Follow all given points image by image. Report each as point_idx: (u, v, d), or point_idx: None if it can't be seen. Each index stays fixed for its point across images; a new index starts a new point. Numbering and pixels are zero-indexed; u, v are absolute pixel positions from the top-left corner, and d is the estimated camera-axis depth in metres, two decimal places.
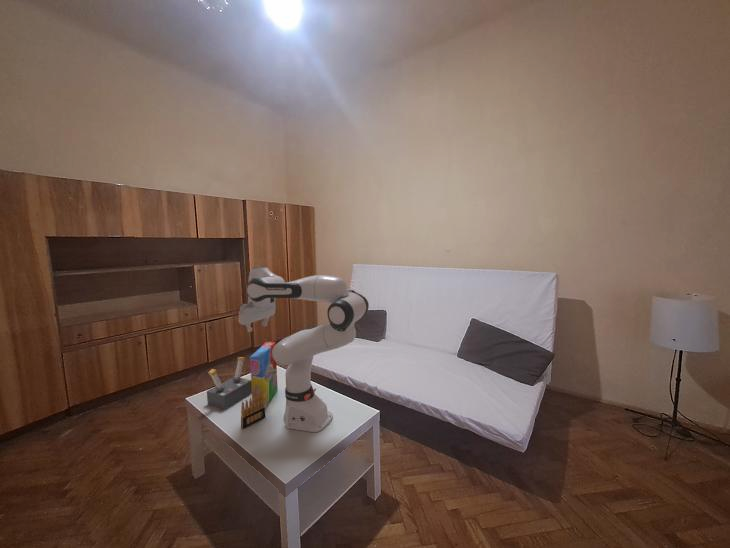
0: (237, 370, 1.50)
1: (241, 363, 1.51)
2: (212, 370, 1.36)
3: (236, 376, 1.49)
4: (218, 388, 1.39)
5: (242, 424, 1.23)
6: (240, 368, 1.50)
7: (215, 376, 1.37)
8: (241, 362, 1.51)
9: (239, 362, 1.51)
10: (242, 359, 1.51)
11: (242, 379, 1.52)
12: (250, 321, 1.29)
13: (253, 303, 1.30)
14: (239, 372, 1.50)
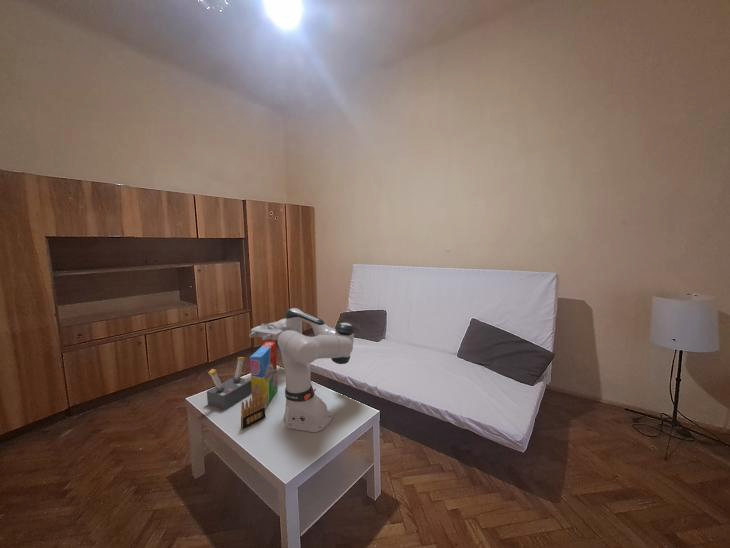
0: (237, 370, 1.50)
1: (241, 363, 1.51)
2: (212, 370, 1.36)
3: (236, 376, 1.49)
4: (218, 388, 1.39)
5: (242, 424, 1.23)
6: (240, 368, 1.50)
7: (215, 376, 1.37)
8: (241, 362, 1.51)
9: (239, 362, 1.51)
10: (242, 359, 1.51)
11: (242, 379, 1.52)
12: None
13: None
14: (239, 372, 1.50)
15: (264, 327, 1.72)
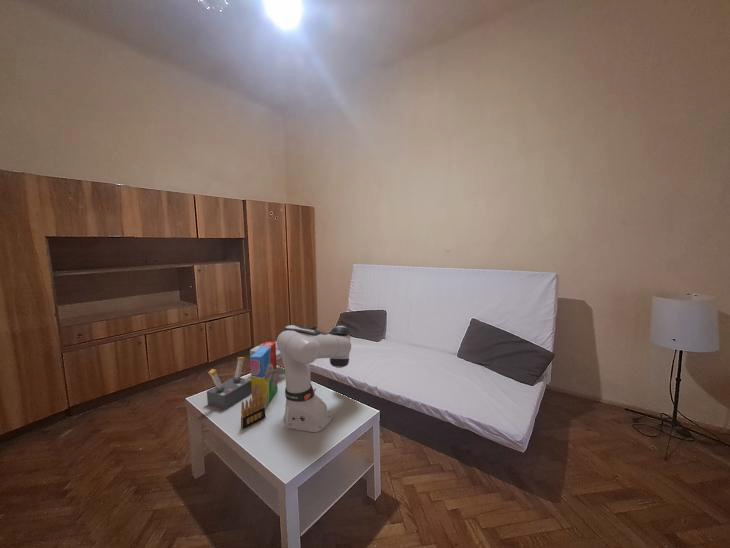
0: (237, 370, 1.50)
1: (241, 363, 1.51)
2: (212, 370, 1.36)
3: (236, 376, 1.49)
4: (218, 388, 1.39)
5: (242, 424, 1.23)
6: (240, 368, 1.50)
7: (215, 376, 1.37)
8: (241, 362, 1.51)
9: (239, 362, 1.51)
10: (242, 359, 1.51)
11: (242, 379, 1.52)
12: None
13: None
14: (239, 372, 1.50)
15: None
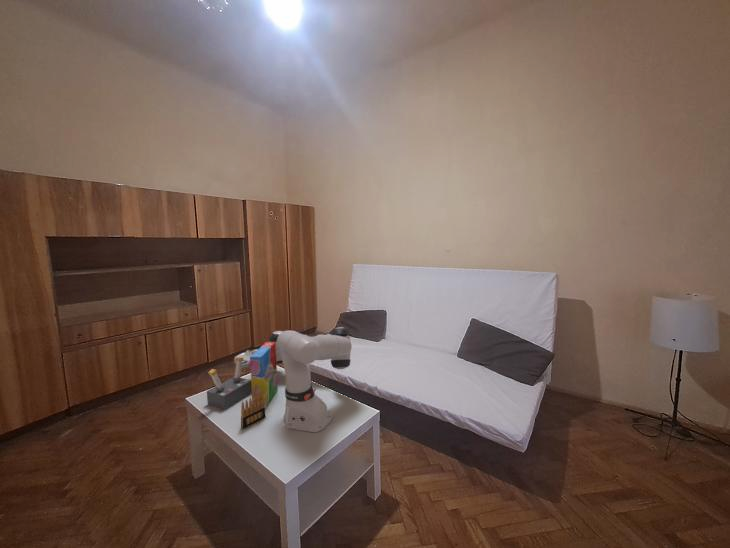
0: (236, 370, 1.49)
1: (240, 363, 1.50)
2: (212, 370, 1.36)
3: (236, 376, 1.49)
4: (218, 388, 1.39)
5: (242, 424, 1.23)
6: (239, 368, 1.50)
7: (215, 376, 1.37)
8: (240, 362, 1.50)
9: (238, 362, 1.50)
10: (241, 359, 1.50)
11: (242, 379, 1.52)
12: None
13: None
14: (239, 372, 1.50)
15: (249, 354, 1.63)
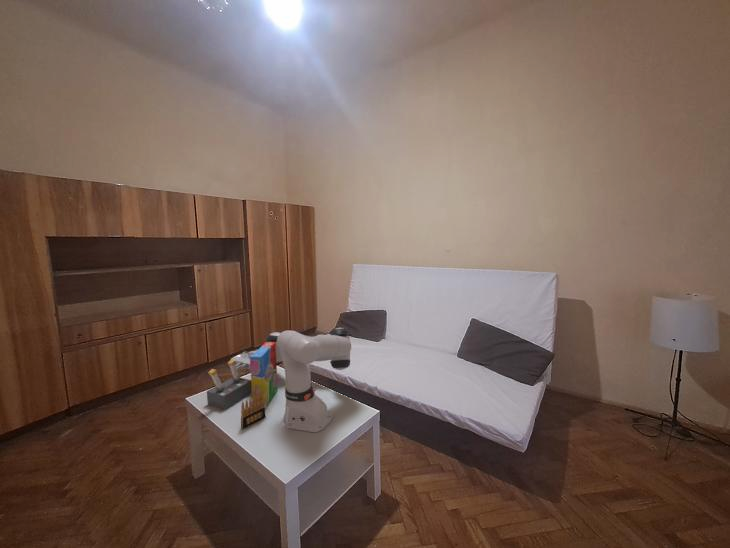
0: (233, 373, 1.47)
1: (234, 366, 1.47)
2: (212, 370, 1.36)
3: (235, 378, 1.48)
4: (218, 388, 1.39)
5: (242, 424, 1.23)
6: (235, 370, 1.47)
7: (215, 376, 1.37)
8: (233, 366, 1.46)
9: (231, 366, 1.46)
10: (233, 363, 1.46)
11: (242, 379, 1.52)
12: None
13: None
14: (236, 374, 1.48)
15: (245, 356, 1.60)
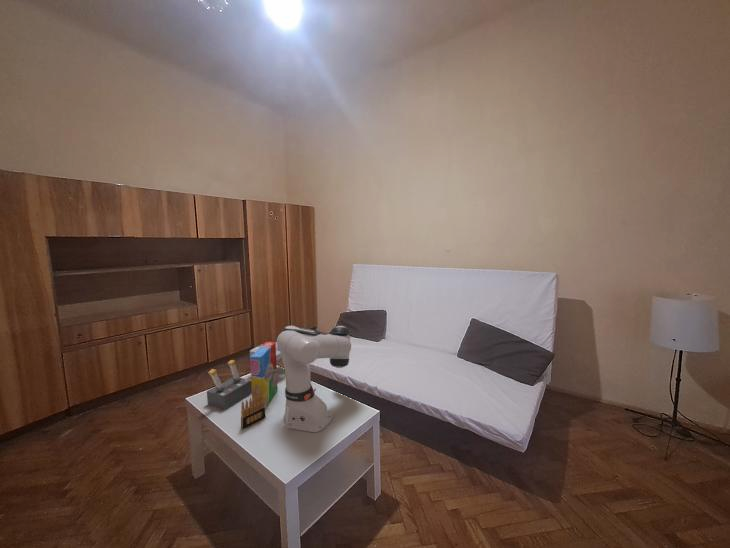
0: (233, 373, 1.47)
1: (234, 366, 1.47)
2: (212, 370, 1.36)
3: (235, 378, 1.48)
4: (218, 388, 1.39)
5: (242, 424, 1.23)
6: (235, 370, 1.47)
7: (215, 376, 1.37)
8: (233, 366, 1.46)
9: (231, 366, 1.46)
10: (233, 363, 1.46)
11: (242, 379, 1.52)
12: None
13: None
14: (236, 374, 1.48)
15: None
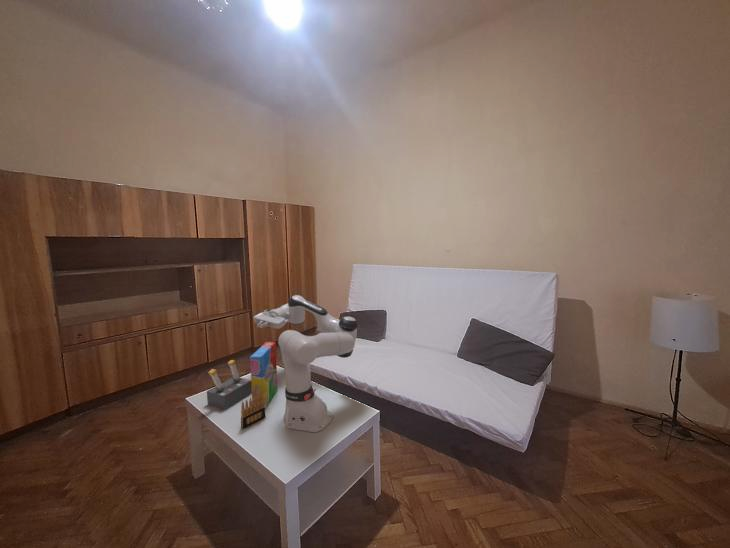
0: (233, 373, 1.47)
1: (234, 366, 1.47)
2: (212, 370, 1.36)
3: (235, 378, 1.48)
4: (218, 388, 1.39)
5: (242, 424, 1.23)
6: (235, 370, 1.47)
7: (215, 376, 1.37)
8: (233, 366, 1.46)
9: (231, 366, 1.46)
10: (233, 363, 1.46)
11: (242, 379, 1.52)
12: None
13: None
14: (236, 374, 1.48)
15: (267, 314, 1.70)
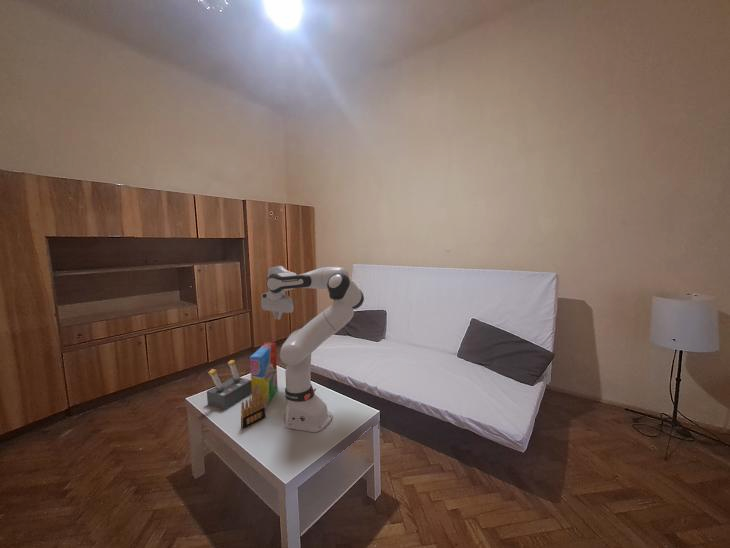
0: (233, 373, 1.47)
1: (234, 366, 1.47)
2: (212, 370, 1.36)
3: (235, 378, 1.48)
4: (218, 388, 1.39)
5: (242, 424, 1.23)
6: (235, 370, 1.47)
7: (215, 376, 1.37)
8: (233, 366, 1.46)
9: (231, 366, 1.46)
10: (233, 363, 1.46)
11: (242, 379, 1.52)
12: None
13: None
14: (236, 374, 1.48)
15: (268, 300, 1.58)
